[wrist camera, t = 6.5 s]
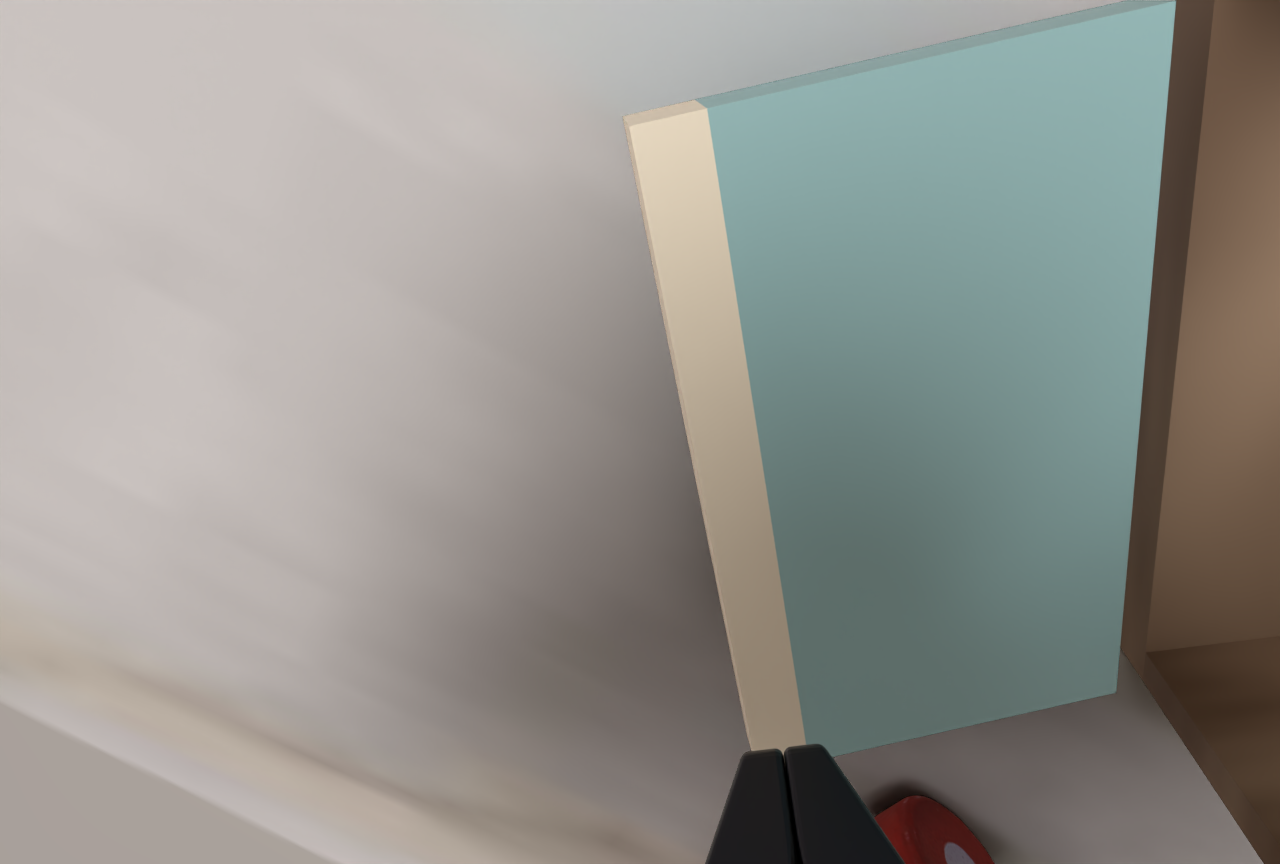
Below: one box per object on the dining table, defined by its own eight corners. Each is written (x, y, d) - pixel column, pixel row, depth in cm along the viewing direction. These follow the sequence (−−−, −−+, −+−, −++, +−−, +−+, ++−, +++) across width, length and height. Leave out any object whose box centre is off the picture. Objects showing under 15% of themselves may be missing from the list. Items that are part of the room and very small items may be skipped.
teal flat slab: (1176, 0, 11) (628, 125, 11) (1115, 692, 16) (757, 774, 16) (1127, 0, 12) (622, 115, 12) (1086, 656, 17) (746, 733, 17)
